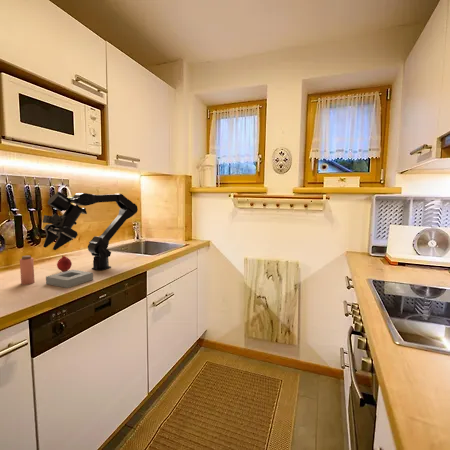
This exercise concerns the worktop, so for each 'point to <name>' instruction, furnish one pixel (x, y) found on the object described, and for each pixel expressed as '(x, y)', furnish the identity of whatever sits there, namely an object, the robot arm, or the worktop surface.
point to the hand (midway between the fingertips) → (49, 248)
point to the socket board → (69, 278)
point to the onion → (64, 264)
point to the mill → (27, 270)
